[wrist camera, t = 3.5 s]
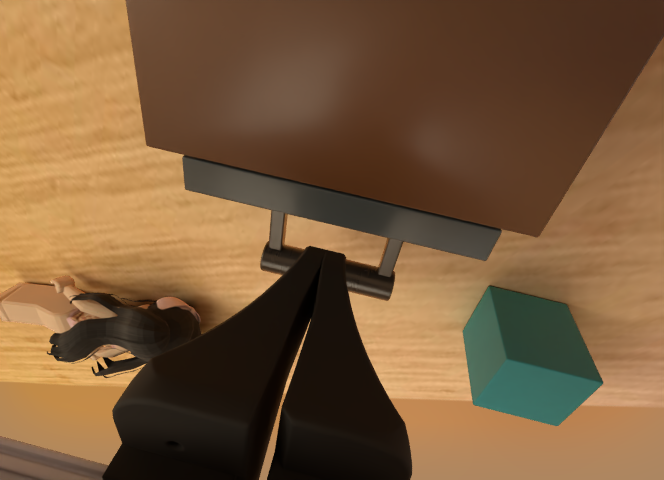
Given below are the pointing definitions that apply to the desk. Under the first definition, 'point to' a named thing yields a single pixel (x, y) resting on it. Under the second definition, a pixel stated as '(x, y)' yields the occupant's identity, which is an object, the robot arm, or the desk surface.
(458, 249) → the drawer
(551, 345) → the teal rectangular block
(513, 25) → the cabinet
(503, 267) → the desk surface
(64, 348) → the toy figure
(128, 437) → the robot arm
